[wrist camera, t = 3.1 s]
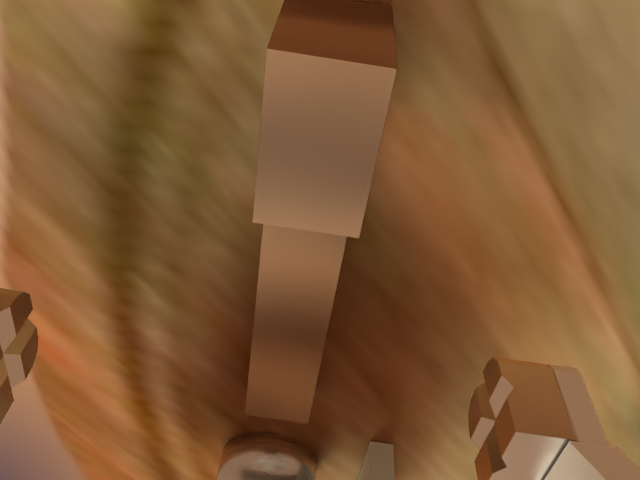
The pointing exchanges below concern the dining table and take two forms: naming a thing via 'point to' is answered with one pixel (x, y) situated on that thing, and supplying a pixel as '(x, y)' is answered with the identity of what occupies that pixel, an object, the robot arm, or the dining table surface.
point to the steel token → (266, 458)
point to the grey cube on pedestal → (378, 462)
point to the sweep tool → (312, 184)
